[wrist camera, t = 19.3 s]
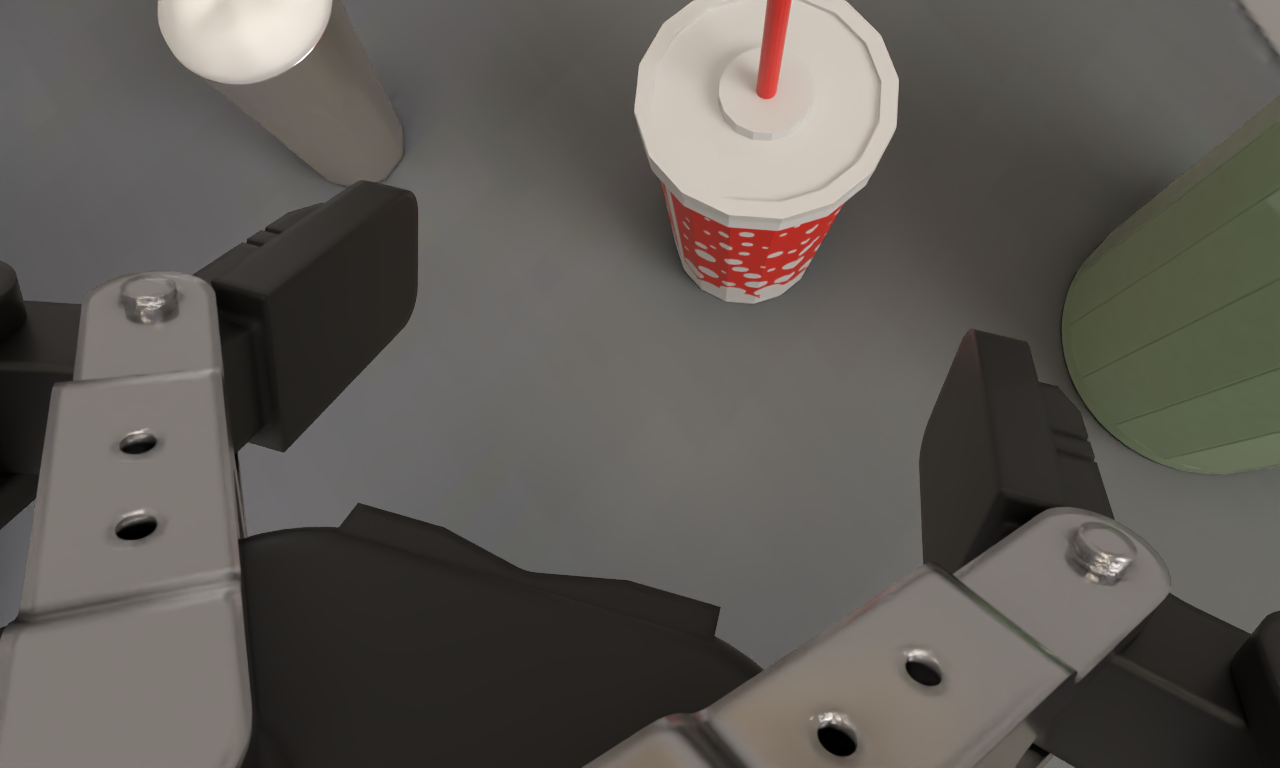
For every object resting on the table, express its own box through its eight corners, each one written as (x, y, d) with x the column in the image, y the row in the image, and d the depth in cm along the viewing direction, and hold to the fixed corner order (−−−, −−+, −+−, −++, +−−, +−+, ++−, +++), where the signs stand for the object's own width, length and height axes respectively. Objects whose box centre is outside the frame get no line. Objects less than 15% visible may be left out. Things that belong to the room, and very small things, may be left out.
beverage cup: (874, 271, 29) (1034, 0, 15) (708, 360, 28) (718, 166, 15) (780, 121, 30) (849, -255, 16) (620, 204, 30) (555, -107, 16)
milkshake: (363, 47, 32) (213, -187, 22) (450, 153, 31) (333, -44, 21) (259, 123, 31) (59, -81, 21) (343, 232, 30) (173, 70, 20)
